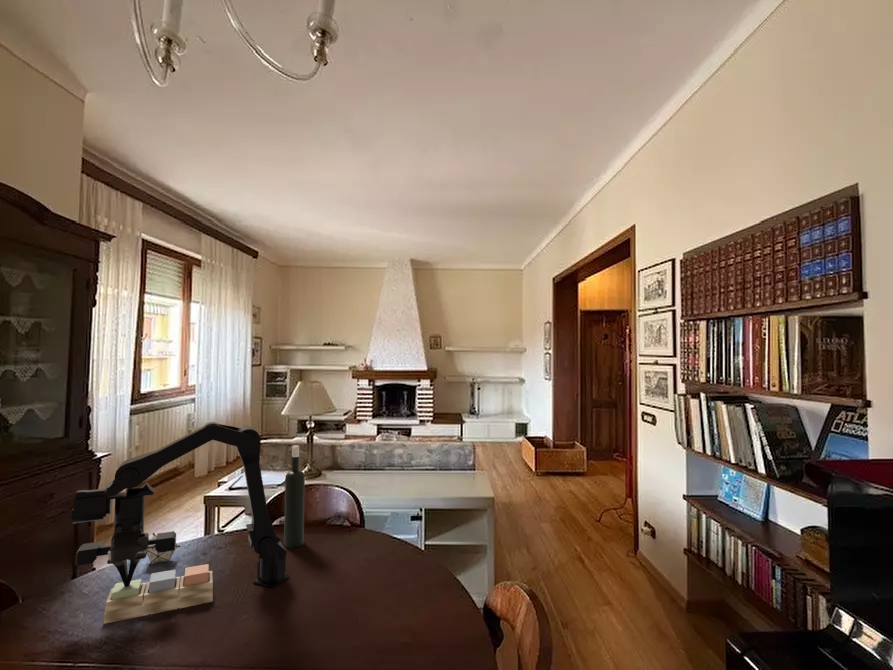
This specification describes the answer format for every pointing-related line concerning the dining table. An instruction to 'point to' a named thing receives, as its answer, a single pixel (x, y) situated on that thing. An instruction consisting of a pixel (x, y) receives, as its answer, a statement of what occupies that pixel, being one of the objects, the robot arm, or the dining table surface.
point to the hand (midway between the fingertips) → (127, 585)
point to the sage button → (126, 589)
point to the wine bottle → (294, 503)
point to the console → (158, 600)
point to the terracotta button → (196, 575)
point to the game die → (159, 554)
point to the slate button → (162, 581)
